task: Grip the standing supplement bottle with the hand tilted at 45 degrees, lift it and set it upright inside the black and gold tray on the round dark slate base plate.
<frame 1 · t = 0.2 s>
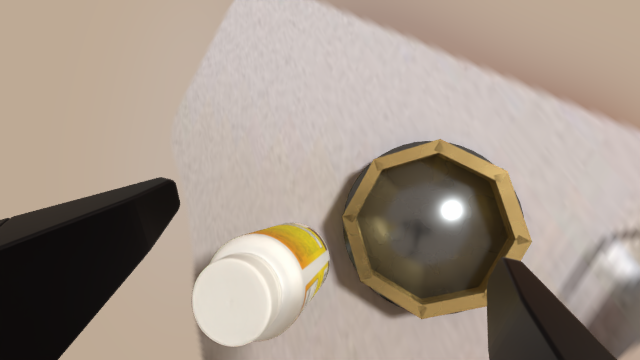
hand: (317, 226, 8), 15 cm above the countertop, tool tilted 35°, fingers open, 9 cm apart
black and gold tray: (426, 225, 22), on the countertop
supplement bottle: (296, 258, 24), on the countertop
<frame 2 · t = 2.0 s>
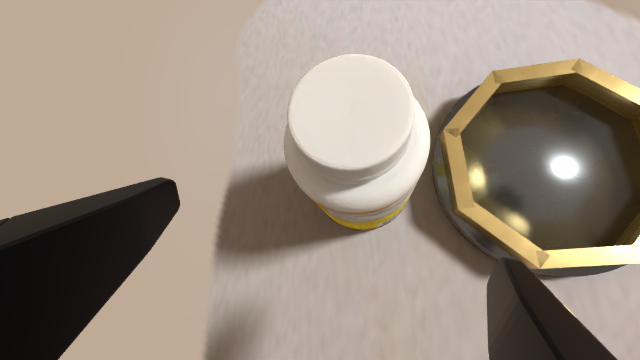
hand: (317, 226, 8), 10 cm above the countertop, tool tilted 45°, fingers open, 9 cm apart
black and gold tray: (539, 168, 18), on the countertop
supplement bottle: (362, 187, 19), on the countertop
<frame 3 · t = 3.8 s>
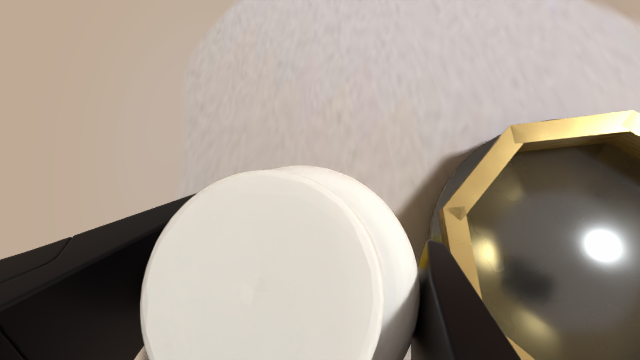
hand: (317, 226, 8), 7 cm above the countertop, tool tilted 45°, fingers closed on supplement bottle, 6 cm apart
black and gold tray: (573, 257, 13), on the countertop
supplement bottle: (335, 271, 15), on the countertop, touching gripper
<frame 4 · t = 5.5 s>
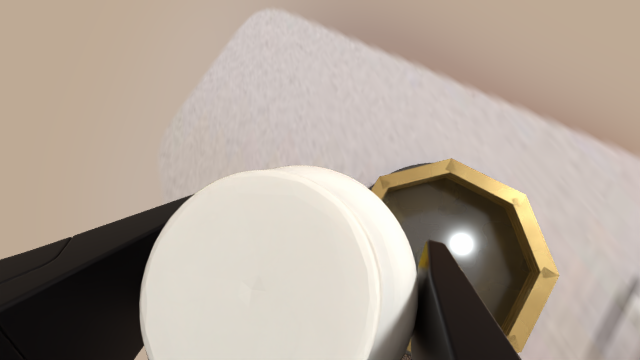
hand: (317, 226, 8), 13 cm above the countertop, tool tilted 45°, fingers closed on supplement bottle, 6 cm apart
black and gold tray: (435, 256, 20), on the countertop
supplement bottle: (337, 271, 15), point 6 cm above the countertop, touching gripper
when the fingers open (9 cm above the countertop, at t = 7.2 s): supplement bottle drops 1 cm, resting on black and gold tray.
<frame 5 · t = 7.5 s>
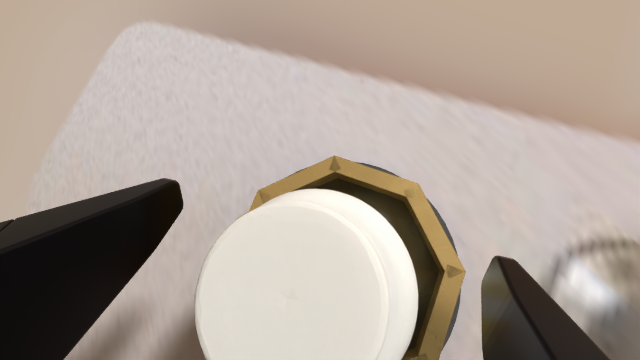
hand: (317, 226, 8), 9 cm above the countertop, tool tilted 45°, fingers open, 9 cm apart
black and gold tray: (341, 270, 17), on the countertop
supplement bottle: (341, 276, 16), point 1 cm above the countertop, touching black and gold tray
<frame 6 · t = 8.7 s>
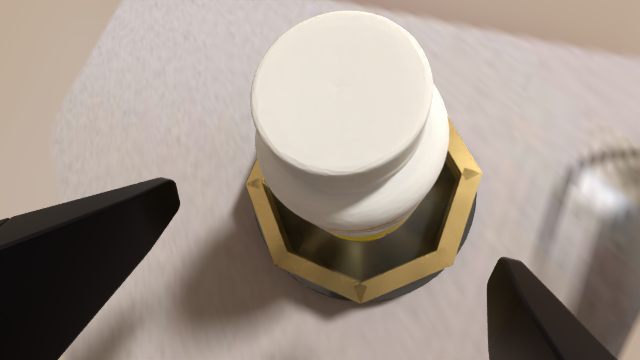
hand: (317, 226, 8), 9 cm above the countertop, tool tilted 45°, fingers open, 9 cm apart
black and gold tray: (359, 188, 17), on the countertop
supplement bottle: (360, 190, 17), point 1 cm above the countertop, touching black and gold tray
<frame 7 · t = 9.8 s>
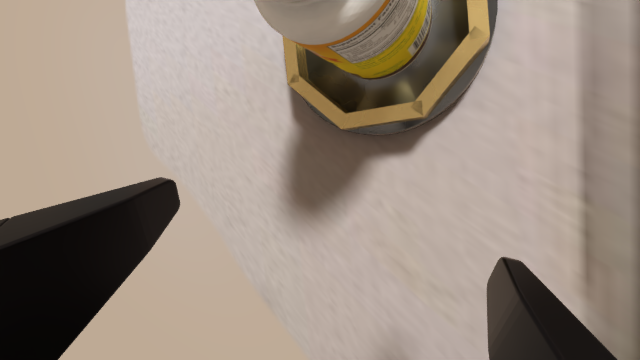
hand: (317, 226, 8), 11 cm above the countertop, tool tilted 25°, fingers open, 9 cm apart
black and gold tray: (381, 33, 18), on the countertop
supplement bottle: (381, 32, 17), point 1 cm above the countertop, touching black and gold tray
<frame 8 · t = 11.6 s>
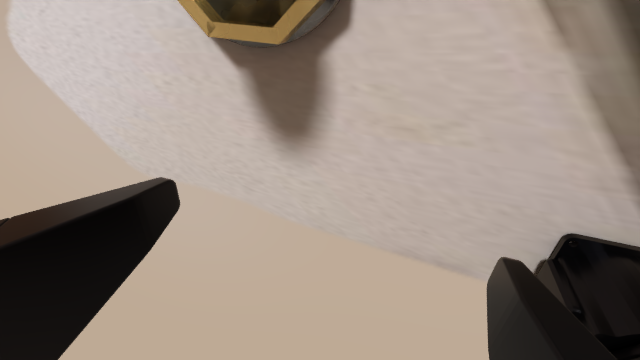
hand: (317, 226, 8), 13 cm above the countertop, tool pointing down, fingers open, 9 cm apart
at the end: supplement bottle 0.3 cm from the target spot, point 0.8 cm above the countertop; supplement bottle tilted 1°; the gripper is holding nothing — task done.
